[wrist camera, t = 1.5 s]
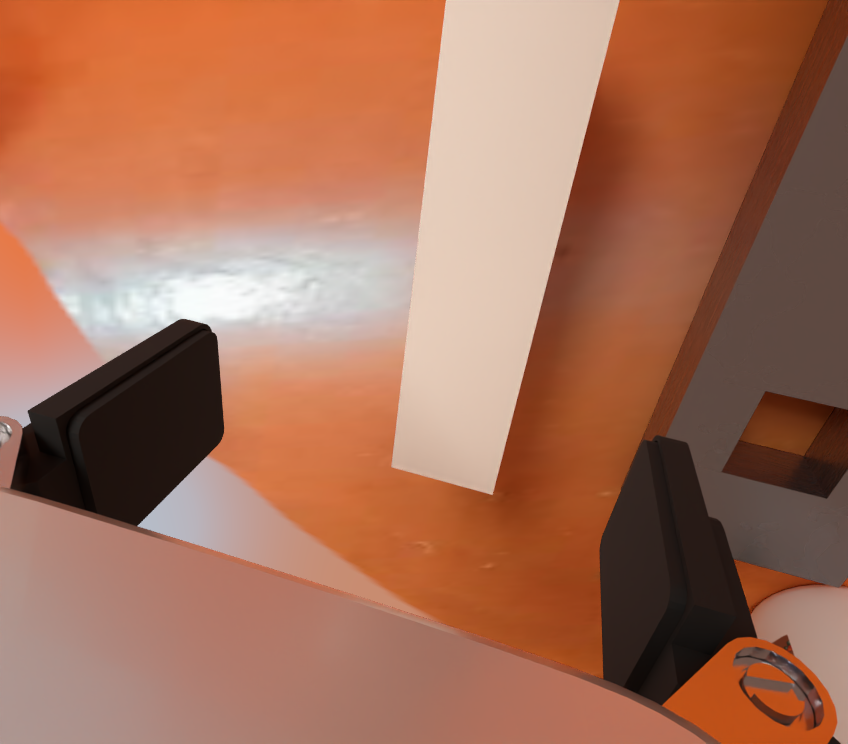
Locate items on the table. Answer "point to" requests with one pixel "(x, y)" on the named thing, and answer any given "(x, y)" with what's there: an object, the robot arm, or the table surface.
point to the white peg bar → (491, 221)
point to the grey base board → (778, 336)
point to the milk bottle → (812, 637)
